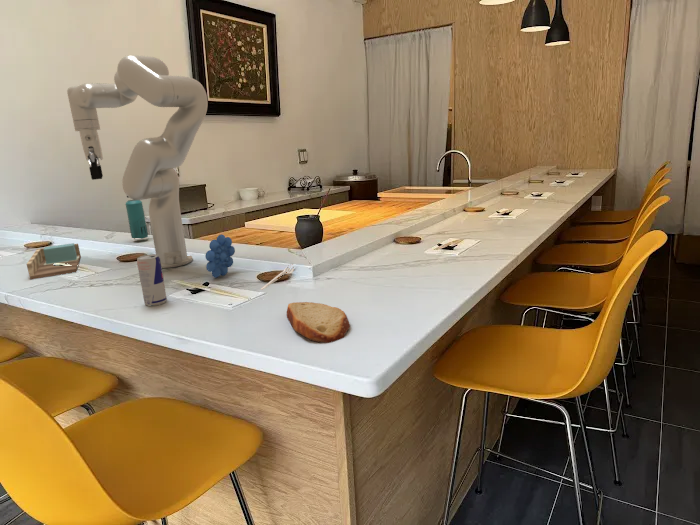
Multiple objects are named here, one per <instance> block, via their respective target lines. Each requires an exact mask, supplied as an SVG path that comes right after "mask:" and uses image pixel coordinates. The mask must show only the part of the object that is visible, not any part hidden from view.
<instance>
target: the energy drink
mask: <svg viewBox="0 0 700 525" xmlns="http://www.w3.org/2000/svg"><path fill="white" fill-rule="evenodd" d="M136 263H137V268H138V269H137V271H138V276H139V281H140V287H141V292H142V297H143V304H145V305H146V306H147V305H156V306H159V304H160V305H163V304H165V303H166V302H167V300H168V298H167V291H166V285H165V280H164V275H163V268H161V262H160V258H159V256H158V255H157V254H156V253H151V254H144V255H141V256H139V257H137V261H136Z"/></svg>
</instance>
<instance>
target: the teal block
mask: <svg viewBox="0 0 700 525" xmlns="http://www.w3.org/2000/svg"><path fill="white" fill-rule="evenodd" d="M74 244H75V243H74V242H73V243H65V244H59V245H58V244H57V245H52V246H45V247H43V248H44V255H45V259H46V263H47V264H51V263H57V262H64V261H71V260H76V259H77V254H76V250H75V245H74Z"/></svg>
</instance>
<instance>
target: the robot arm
mask: <svg viewBox="0 0 700 525" xmlns="http://www.w3.org/2000/svg"><path fill="white" fill-rule="evenodd" d="M113 81H114V83H100V82H99V83H98V82H97V83H96V82H95V83H93V82H86V83H82V84H79V85H75V86H70V87H68V88H67V90H66V92H67V97H68V98H67V99H68V102H69V107H70V113H71V117H72V122H73V128H74V131H75V132H79V136H80V141H81V146H82V150H83V153H84V156H85V159H86V161H88V164H89V173H90V177H91V180H93V181H94V180H101V179H103V177H104V176H103V171H102V165H101V164H100V161H102V160H103V159H104V157H103V152H102V147H101V142H100V137H99V133H98V130H99V131H100V130H101V127H100V126H101V125H100V121H99V116H98V110H97V109H116V108H120V107H121V108H122V107H124V106H126V105H129V104H132V103H134V102H135V101H136V99H137V98H138V97H141V99H143V100H144V101H146V102H147V103H149V104H150V105H152V106H155V107H157V108H178V109H177V110H176V111H175V112H174V113H173V114H172V116H170V118H169V119H168V121H167V123H166V125H165V128H164V130H163V132H162V134H161V135H159V136H157V137H147V138H143V139H141V140H139V141H138V142H137V143H136V144H135V145H134V147H133V149H132V150H131V154H130V157H129V160H128V162H127V164H126V167H125V170H124V173H123V176H122V180H121V181H122V183H121V184H122V190H123V192H124V194H125V195H126V197H127V196H128V197H129V198H130V200H140V201H142V200H143V201H144V200H149V199H150V202H149V204H148V216H149V223H150V229H151V234H152V240H153V245H154V250H155V254H157V255H158V256H159V258H160V262H161V268H162V269H168V268H176V267H181V266H184V265H188V264H190V263H192V262H193V261H194V260H193V256H192V255H190V256H187V255H188V253H187V245H186V240H185V239H186V238H185V233H184V227H183V226H184V225H183V220H182V213H181V212H182V211H181V205H180V178H179V175H178V173H177V171H176V170H175V169H176V168H180V167H181V166H182V165H183V163H184V162H185V160H186V158H187V155H188V154H189V152H190V150H191V147H192V145H193V142H194V140H195V137H196V135H197V133H198V131H199V129H200V127H201V125H202V124H203V121H204V120H205V117H206V114H207V111H208V96H207V92H206V89H205V88H204V86H203V84H201V82H200V81H198V80H196V79H195V78H192V77H189V76H181V75H170V72H169V68H168V65H167V64H166V63H165V62H164V61H163V60H162V59H160V58H157V57H154V56H148V55H147V56H145V55H137V54H130V55H125V56H123V57H122V58H121V59H120V60H119V61H118V64H117V69H116V71H115V73H114V78H113Z"/></svg>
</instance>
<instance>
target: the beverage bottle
mask: <svg viewBox="0 0 700 525" xmlns="http://www.w3.org/2000/svg"><path fill="white" fill-rule="evenodd" d="M126 198H129V197H128V196H127V195H126ZM124 205H125V209H126V214H127V218H128V220H127V221H128V226H129V231H130V237H131V238H141V239H145V238H147V237H149V233H148V232H149V231H148V225H147V221H146V216H145V210H144V206H143V201H142V200H133V199H129V200H127V201H126V202H125V204H124Z"/></svg>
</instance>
